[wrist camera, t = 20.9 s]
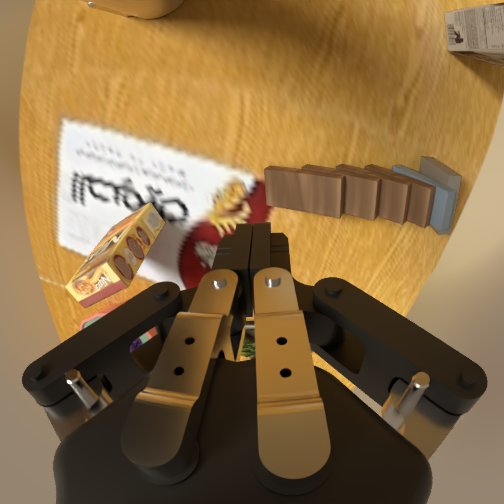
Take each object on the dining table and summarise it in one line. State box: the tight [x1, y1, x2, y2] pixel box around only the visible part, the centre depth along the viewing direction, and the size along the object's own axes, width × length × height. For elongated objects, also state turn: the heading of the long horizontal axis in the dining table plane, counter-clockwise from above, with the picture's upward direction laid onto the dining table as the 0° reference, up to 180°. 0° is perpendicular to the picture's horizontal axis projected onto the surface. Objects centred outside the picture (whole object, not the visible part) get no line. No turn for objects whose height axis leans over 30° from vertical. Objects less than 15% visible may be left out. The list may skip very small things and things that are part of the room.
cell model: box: [80, 302, 157, 352], centre depth 52 cm, size 17×20×11 cm
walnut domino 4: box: [365, 164, 436, 228], centre depth 35 cm, size 2×5×10 cm
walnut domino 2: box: [302, 164, 381, 221], centre depth 37 cm, size 2×5×10 cm
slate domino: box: [392, 165, 456, 231], centre depth 34 cm, size 2×5×10 cm, turn 4°
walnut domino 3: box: [336, 164, 412, 225], centre depth 36 cm, size 2×5×10 cm
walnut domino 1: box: [264, 166, 345, 218], centre depth 37 cm, size 2×5×10 cm
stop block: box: [420, 156, 462, 235], centre depth 35 cm, size 2×8×8 cm, turn 5°
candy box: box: [66, 203, 165, 308], centre depth 38 cm, size 9×4×15 cm, turn 119°
